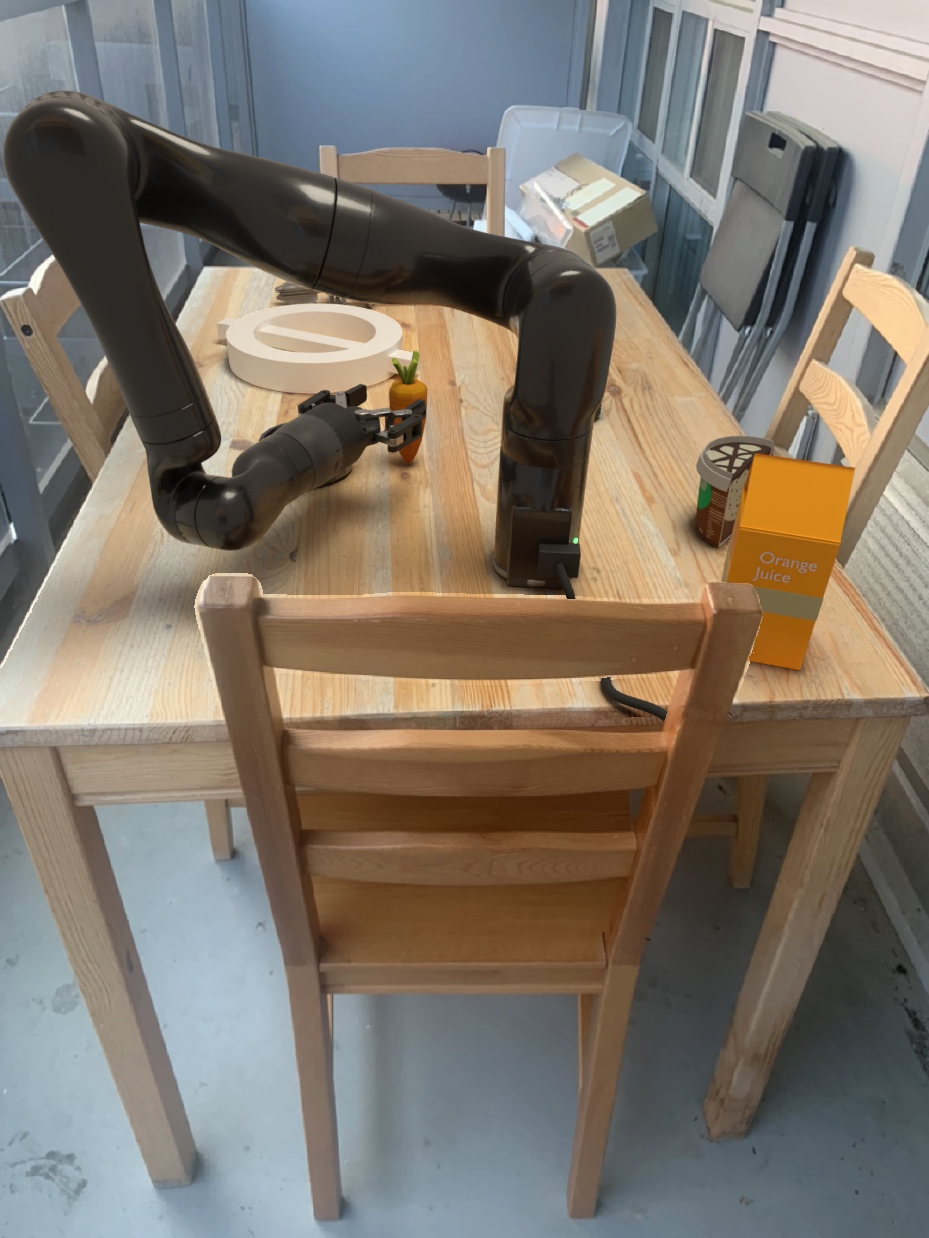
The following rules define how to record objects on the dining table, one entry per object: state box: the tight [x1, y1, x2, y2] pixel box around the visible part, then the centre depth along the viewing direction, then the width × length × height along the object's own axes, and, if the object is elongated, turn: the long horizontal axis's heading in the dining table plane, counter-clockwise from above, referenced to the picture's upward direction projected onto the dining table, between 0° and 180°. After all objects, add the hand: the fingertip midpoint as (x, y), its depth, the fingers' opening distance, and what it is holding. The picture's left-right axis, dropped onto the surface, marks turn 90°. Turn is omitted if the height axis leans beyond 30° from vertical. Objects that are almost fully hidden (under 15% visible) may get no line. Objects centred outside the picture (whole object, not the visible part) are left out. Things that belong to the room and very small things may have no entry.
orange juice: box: [720, 453, 856, 671], centre depth 87 cm, size 8×9×20 cm
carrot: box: [388, 349, 428, 465], centre depth 117 cm, size 5×5×15 cm
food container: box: [694, 435, 776, 549], centre depth 108 cm, size 12×6×10 cm, turn 141°
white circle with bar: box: [216, 303, 421, 395], centre depth 149 cm, size 28×28×5 cm
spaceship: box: [274, 281, 373, 308], centre depth 171 cm, size 8×35×8 cm
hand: (393, 399), depth 113 cm, fingers open, 8 cm apart
